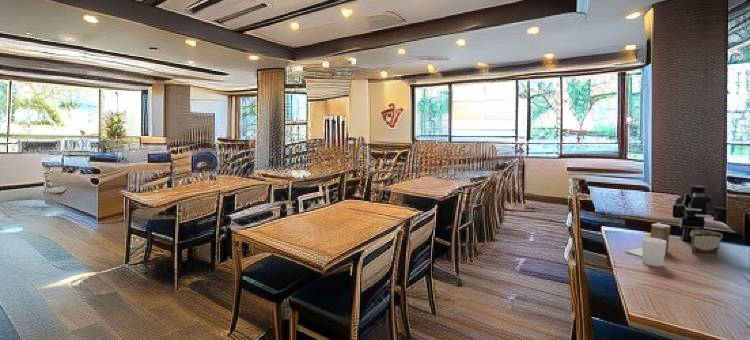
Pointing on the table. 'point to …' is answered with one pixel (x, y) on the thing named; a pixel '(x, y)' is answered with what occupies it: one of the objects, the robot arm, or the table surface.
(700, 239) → the food container
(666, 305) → the table surface
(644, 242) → the white cup
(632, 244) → the table surface
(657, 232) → the walnut block
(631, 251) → the rubber mat
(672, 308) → the table surface
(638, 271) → the table surface
